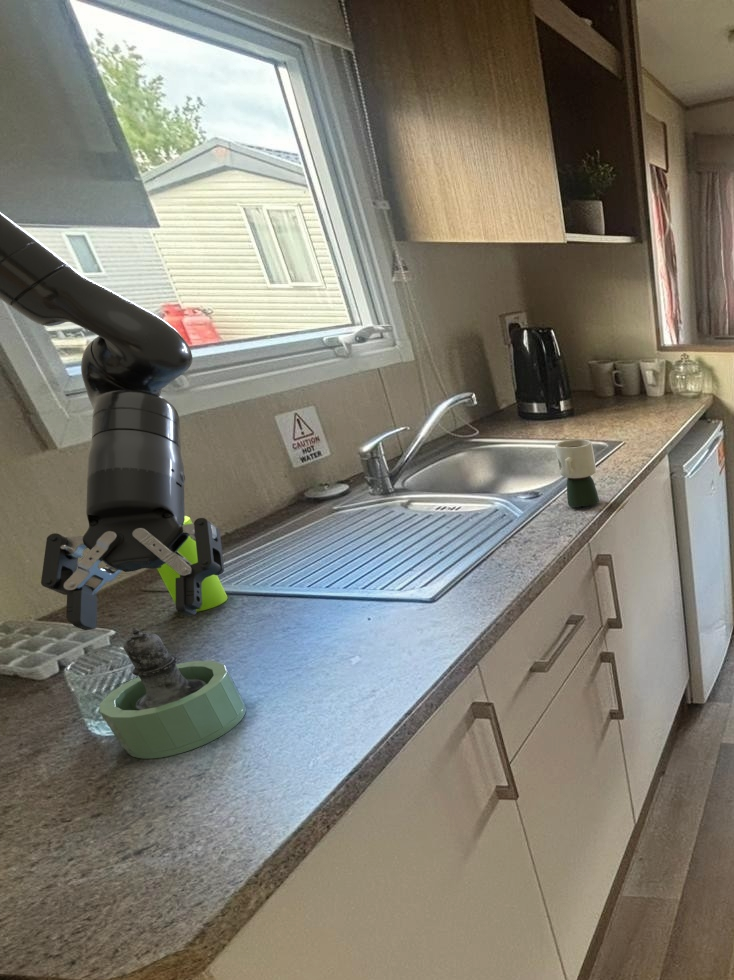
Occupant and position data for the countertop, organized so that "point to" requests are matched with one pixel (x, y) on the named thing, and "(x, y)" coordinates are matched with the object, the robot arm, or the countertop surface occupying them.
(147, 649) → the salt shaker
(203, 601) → the soap dispenser
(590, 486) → the character mug
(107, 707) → the holder
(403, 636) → the countertop surface
